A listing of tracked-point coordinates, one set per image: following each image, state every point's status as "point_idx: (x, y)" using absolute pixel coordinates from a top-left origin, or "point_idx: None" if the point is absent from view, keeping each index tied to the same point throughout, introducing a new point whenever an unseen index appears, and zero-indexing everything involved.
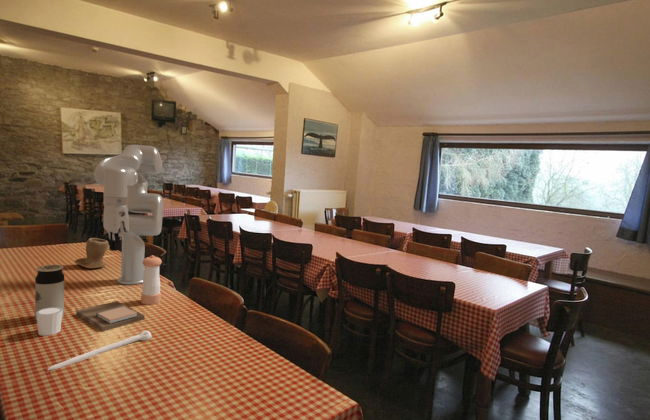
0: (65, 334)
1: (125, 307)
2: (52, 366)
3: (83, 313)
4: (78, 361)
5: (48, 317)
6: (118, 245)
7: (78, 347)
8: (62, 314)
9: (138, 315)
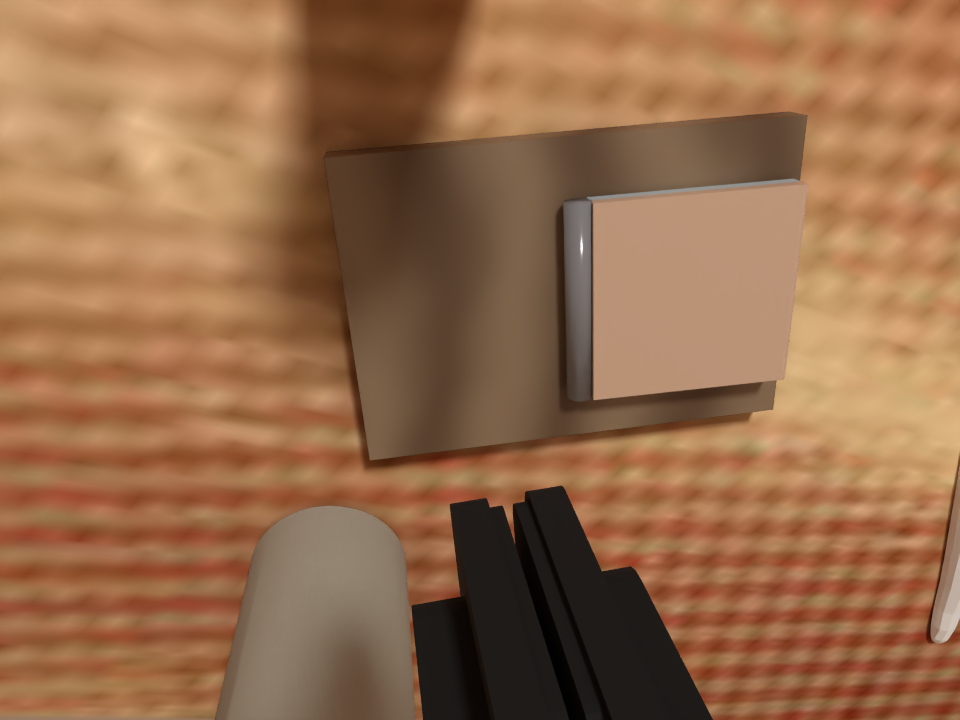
0: (646, 542)
1: (622, 203)
2: (949, 635)
3: (460, 438)
4: None
5: None
6: (651, 623)
7: (842, 526)
8: (377, 529)
9: (774, 154)
